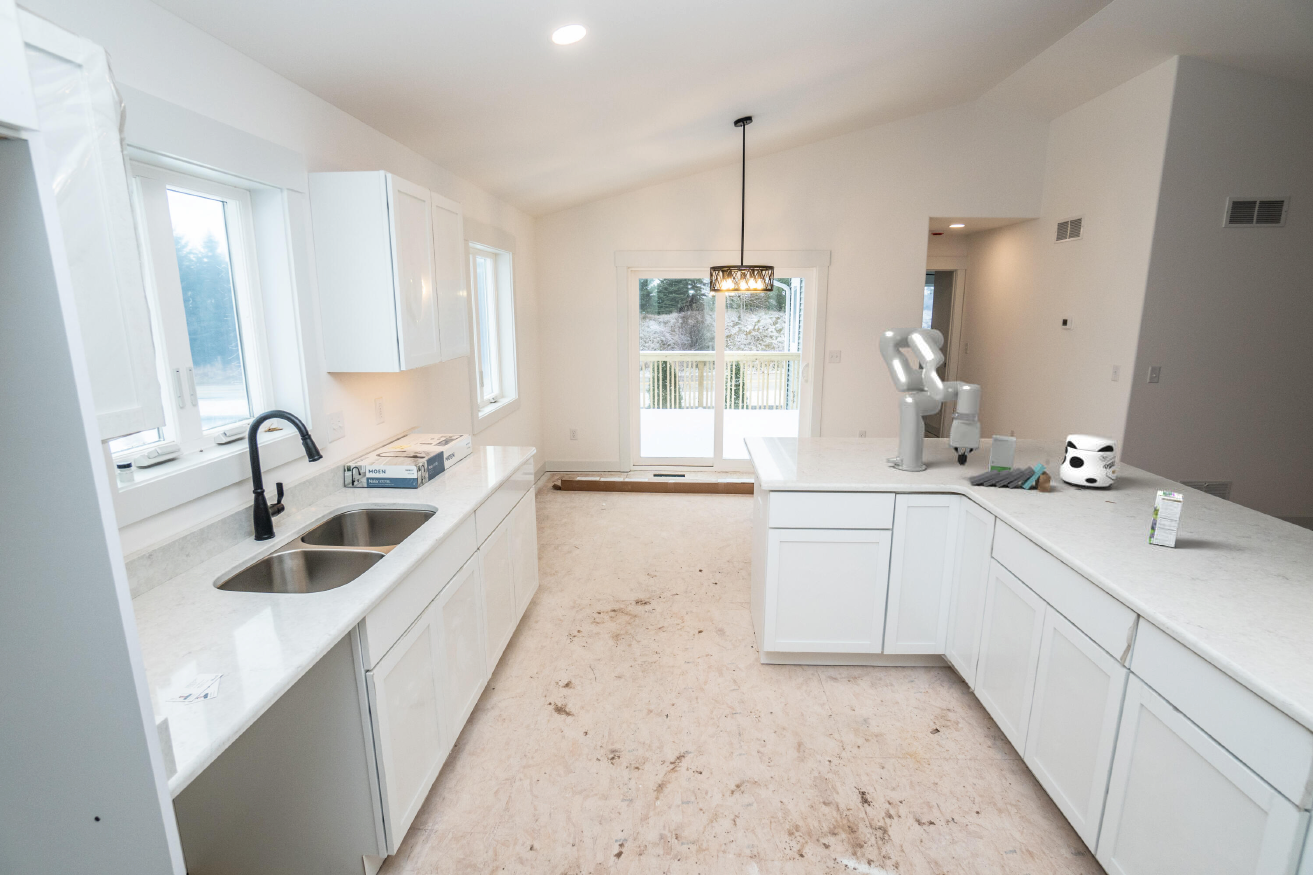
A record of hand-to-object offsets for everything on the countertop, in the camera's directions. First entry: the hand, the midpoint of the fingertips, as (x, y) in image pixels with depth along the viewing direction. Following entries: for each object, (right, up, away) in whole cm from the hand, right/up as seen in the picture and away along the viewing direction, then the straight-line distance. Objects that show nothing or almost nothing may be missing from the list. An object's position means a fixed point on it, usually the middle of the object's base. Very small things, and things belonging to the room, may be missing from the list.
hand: (961, 464), depth 233 cm
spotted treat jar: (+45, -8, -3) cm, 46 cm away
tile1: (+3, -7, 0) cm, 7 cm away
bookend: (+25, -9, -8) cm, 28 cm away
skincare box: (+21, -5, +12) cm, 25 cm away
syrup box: (+26, -20, -61) cm, 69 cm away
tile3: (+11, -7, -3) cm, 14 cm away
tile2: (+7, -7, -2) cm, 10 cm away
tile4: (+15, -8, -4) cm, 17 cm away
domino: (+20, -8, -6) cm, 22 cm away
